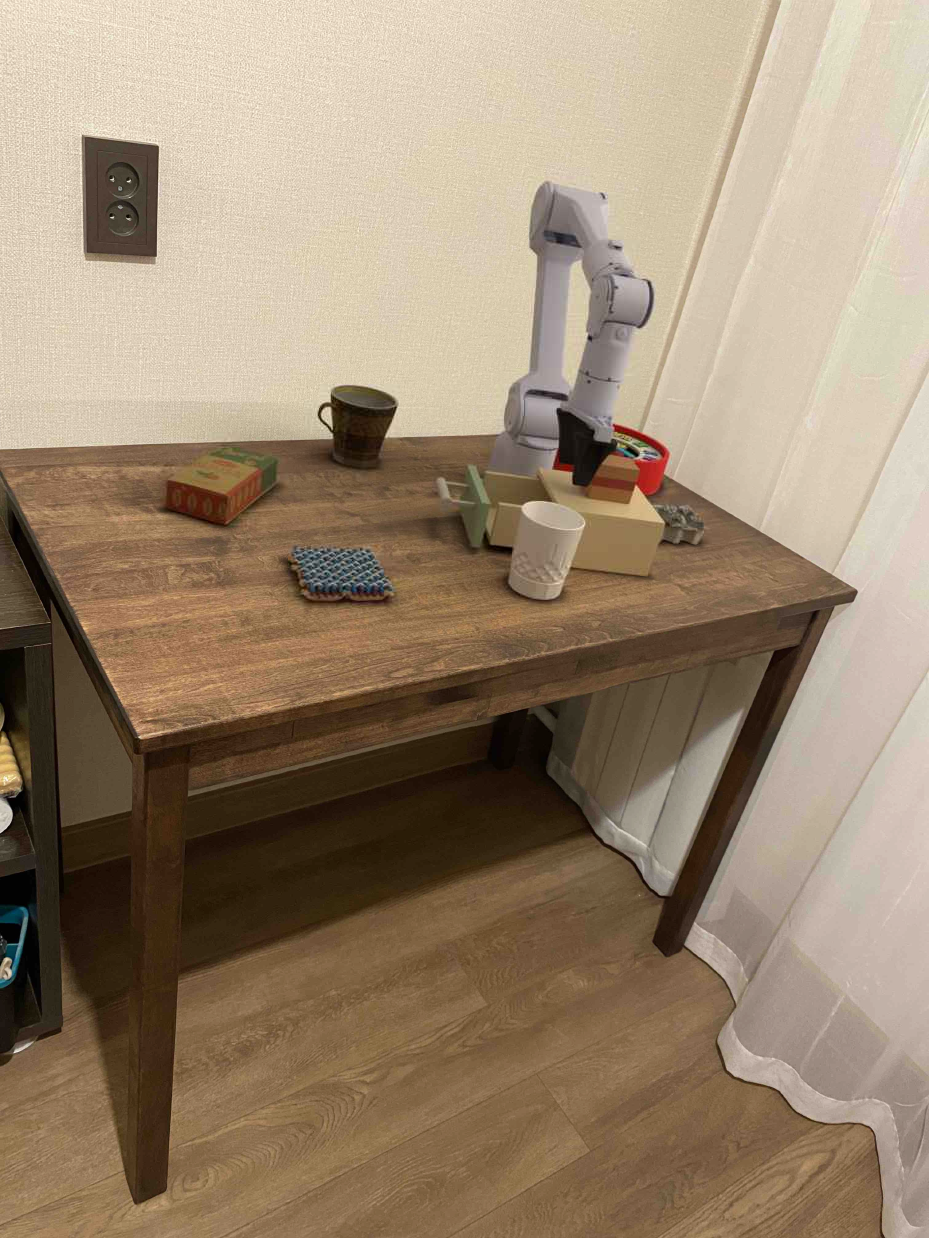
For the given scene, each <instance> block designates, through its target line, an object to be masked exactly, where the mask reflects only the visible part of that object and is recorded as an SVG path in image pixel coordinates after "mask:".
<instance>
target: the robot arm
mask: <svg viewBox="0 0 929 1238" xmlns="http://www.w3.org/2000/svg"><path fill="white" fill-rule="evenodd" d="M610 215H611V202H610V199H609V196H608V195H607V194H606V193H605V192H595V191H591V190H586V189H581V188H577V187H571V186H568V185H562V184H557V183H553V182H552V181H550V180H545V181H544V182H542V184H540V185H539V187H538V188H537V190H536V192H535V195H534V197H533V201H532V205H531V208H530V216H529V217H530V218H529V219H530V220H529V229H528V230H529V231H528V239H529V242H528V247H529V249H530V250H531V251H532V252H533V253H534V254H535V255H536V278H535V291H534V301H533V302H534V303H533V304H534V305H533V317H532V329H531V341H530V355H529V368H528V373H527V374H525V375H523V376H521V377H520V378H518V379H517V380H515V381H514V382H512V384H511V386H510V387H509V389H508V396H507V400H506V404H505V408H504V413H503V426H504V430H503V431H502V432H500V433H499V434H498V436H497V437H496V439H494V443H493V444H492V448H491V453H490V457H489V461H488V466H487V470H486V471H491V472H498V473H505V474H512V475H519V476H526V477H533V478H535V477H536V473H537V469H538V468H545V469H552V470H553V464H554V460H555V457H556V453H557V449H558V462H559V463H563V464H569V465H573V464H574V467H573V473H572V484H573V485H575V486H583V487H588V486H589V484H590V483H591V481H592V479H593V478H594V476H595V474H596V472H597V471H598V469H599V467H600V466H601V464H602V463H603V461H604V460H605V459H606V458H607V457H608V456H609V455H610V454H611V453H612V452H613V451H614V450H615V449H616V448H617V445H618V442H617V441H616V440H615V439H612V435H613V431H614V427H613V426H612V423H613V421H614V416H615V412H614V410H615V406H616V403H617V400H618V397H619V393H620V390H621V386H622V383H623V380H624V377H625V373H626V370H627V366H628V363H629V359H630V356H631V353H632V349H633V346H634V342H635V339H636V336H637V332H638V330H640V329H643V328H644V327H645V326H646V325H647V323H648V322H649V320H650V319H651V316H652V313H653V310H654V307H655V306H654V305H655V299H656V298H655V288H654V285H653V284H654V283H653V281H652V280H651V279H649V278H643V277H641V276H637V274H636V271H635V270H634V267H633V266H632V263H631V261H630V258H629V256H628V255H627V252H626V250H625V248H624V245H623V242H622V241H621V240H618V239H613V238H611V235H610V231H609V227H608V224H609V221H610V217H611V216H610ZM578 261H581V269H582V272H583V274H584V277H585V280H586V282H587V284H588V287H589V290H590V294H589V298H588V316H587V319H586V320H587V321H586V323H585V324H586V325H585V327H586V328H585V332H586V334H587V338H586V341H585V344H584V348H583V351H582V352H583V353H582V356H581V359H580V362H579V367H578V371H577V373H576V378H575V382H574V386H573V385H572V384H571V383H570V382H569V381H568V380H567V378H566V377H565V376H564V375H563V373H564V372H563V370H564V360H565V359H564V357H565V344H566V335H567V334H566V332H567V322H568V321H567V320H568V308H569V307H568V305H569V296H570V295H569V293H570V284H571V283H570V281H571V269H572V266H573V264H574V263H576V262H578ZM481 481H482V482H483V478H481Z"/></svg>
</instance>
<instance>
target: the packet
mask: <svg viewBox="0 0 929 1238" xmlns="http://www.w3.org/2000/svg"><path fill="white" fill-rule="evenodd" d="M639 472H640V469H639V468H638V467H637V466H636V464H635V463H634V462H633V461H632V459H631V458H626V457H620V456H613V455H609V456H608V457H607V458H606V459H605V460H604V461H603V463H602V464H601V466H600V467H599V469H598V471H597V472H596V474H595V476H594V478H593V479H592V481H591V483H590V484H589V486H588V487H583V486H581V488H582V490H583V491H584V493H585V494H586V496H587V497H588V498H589V499H596V500H603V501H610V502H617V503H625V504H629V503H630V500H631V497H632V494H633V491H634V489H635V486H636V481H637V478H638V475H639Z"/></svg>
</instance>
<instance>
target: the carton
mask: <svg viewBox="0 0 929 1238" xmlns="http://www.w3.org/2000/svg"><path fill="white" fill-rule="evenodd" d="M278 463H279V460H278V457H277V456H273V455H269V454H265V453H262V452H258V451H254V450H249V449H246V448H242V447H238V446H235V445H231V444H227V443H221V444H219V445H218V446H216V447H215V448H214V449H212V450H211V451H209V452H208V453H206V454H205V455H203V456H202V457H200V458H198V459H196V460H195V461H193V462H192V463H191V464H189V465H187V466H186V467H184V468H182V469H181V470H179V471H178V472H177V473H175V474H173V475H172V476H171V477H169V478H167V480H166V484H165V496H164V497H165V498H164V505H165V506H164V509H168V510H171V511H174V512H178V513H182V514H185V515H187V516H188V515H189V516H192V517H195V518H198V519H201V520H205V521H209V522H212V523H216V524H220V525H228V524H230V522H231V521H233V520H234V519H235V518H236V517H237V516H239V515H240V514H241V513H242V512H244V510H246V509H248V508H249V507H250V506H251V505H252V504H253V503H255V502H256V501H257V500H258V499H260V498H261V497H262V496H263V495H264V494H266V493H267V492H269V491H270V490H271V489H273V488H274V487H275V486H276V485H277V476H278V465H279V464H278Z"/></svg>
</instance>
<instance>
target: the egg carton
mask: <svg viewBox="0 0 929 1238" xmlns="http://www.w3.org/2000/svg"><path fill="white" fill-rule="evenodd" d="M651 505H652V506H653V508H654V509H655V510H656V512H657V513H658V514H659V516H660V517H661V518H662V519H663V521H664V522H665V525H664V528H663V531H662V534H661V537H660V540H659V543H661V541H663V540H665V541H667V542H670V543H672V544H679V543H680V541H684V542H687V543H689V544H690V545H697V544H698V543H699V542H700V541H701V538H702V535H703V534H706V531H707V530H710V527H709V526H706V525H705V520H704V519H701V517H700V515H698V513H697V512H694V510H693V509H692V507H691V506H690V504H683V505H670V506H669V505H668V503H664V504H651ZM659 543H658V544H659Z"/></svg>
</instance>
